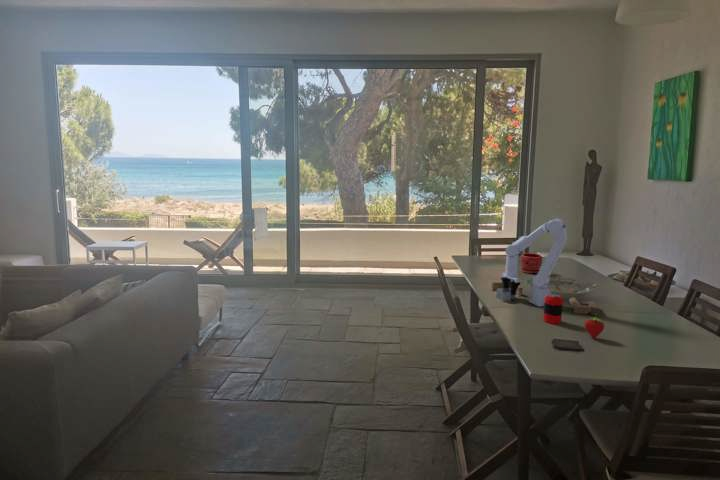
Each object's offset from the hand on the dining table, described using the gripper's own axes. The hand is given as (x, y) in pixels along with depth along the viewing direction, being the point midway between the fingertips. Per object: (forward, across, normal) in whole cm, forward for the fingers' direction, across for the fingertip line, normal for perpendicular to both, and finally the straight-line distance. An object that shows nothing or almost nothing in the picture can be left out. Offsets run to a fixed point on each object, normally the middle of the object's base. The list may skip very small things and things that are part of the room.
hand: (509, 292), depth 257 cm
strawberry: (+3, +61, +6) cm, 61 cm away
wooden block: (+1, +32, +24) cm, 40 cm away
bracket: (+3, +2, -2) cm, 4 cm away
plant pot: (+3, -59, +45) cm, 74 cm away
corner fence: (+3, -10, +4) cm, 11 cm away
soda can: (+3, +39, +1) cm, 39 cm away
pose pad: (+3, -8, +2) cm, 9 cm away
